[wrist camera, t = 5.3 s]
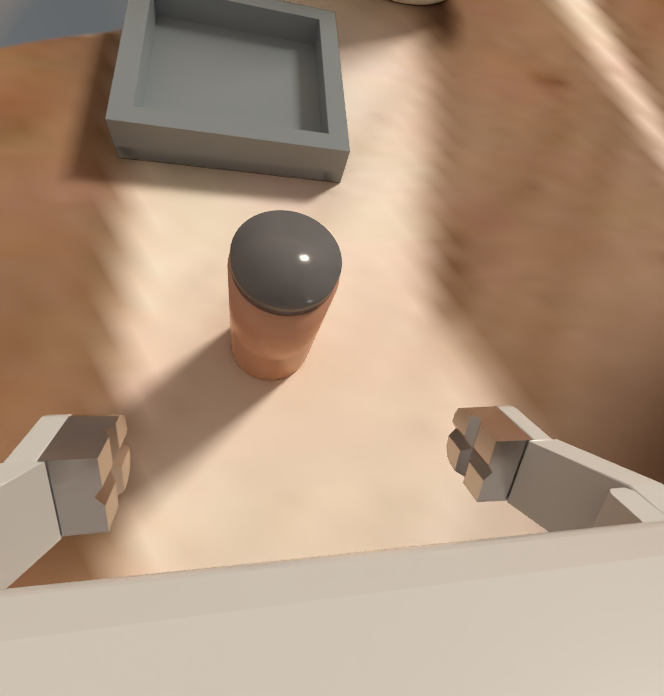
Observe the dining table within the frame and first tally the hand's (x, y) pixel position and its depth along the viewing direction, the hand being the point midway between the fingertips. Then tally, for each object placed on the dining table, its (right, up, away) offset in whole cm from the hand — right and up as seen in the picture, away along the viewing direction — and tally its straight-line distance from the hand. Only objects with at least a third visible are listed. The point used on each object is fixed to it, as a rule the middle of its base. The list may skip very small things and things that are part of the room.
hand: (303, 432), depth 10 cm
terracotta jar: (-3, +2, +11) cm, 11 cm away
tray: (-6, +19, +17) cm, 26 cm away
